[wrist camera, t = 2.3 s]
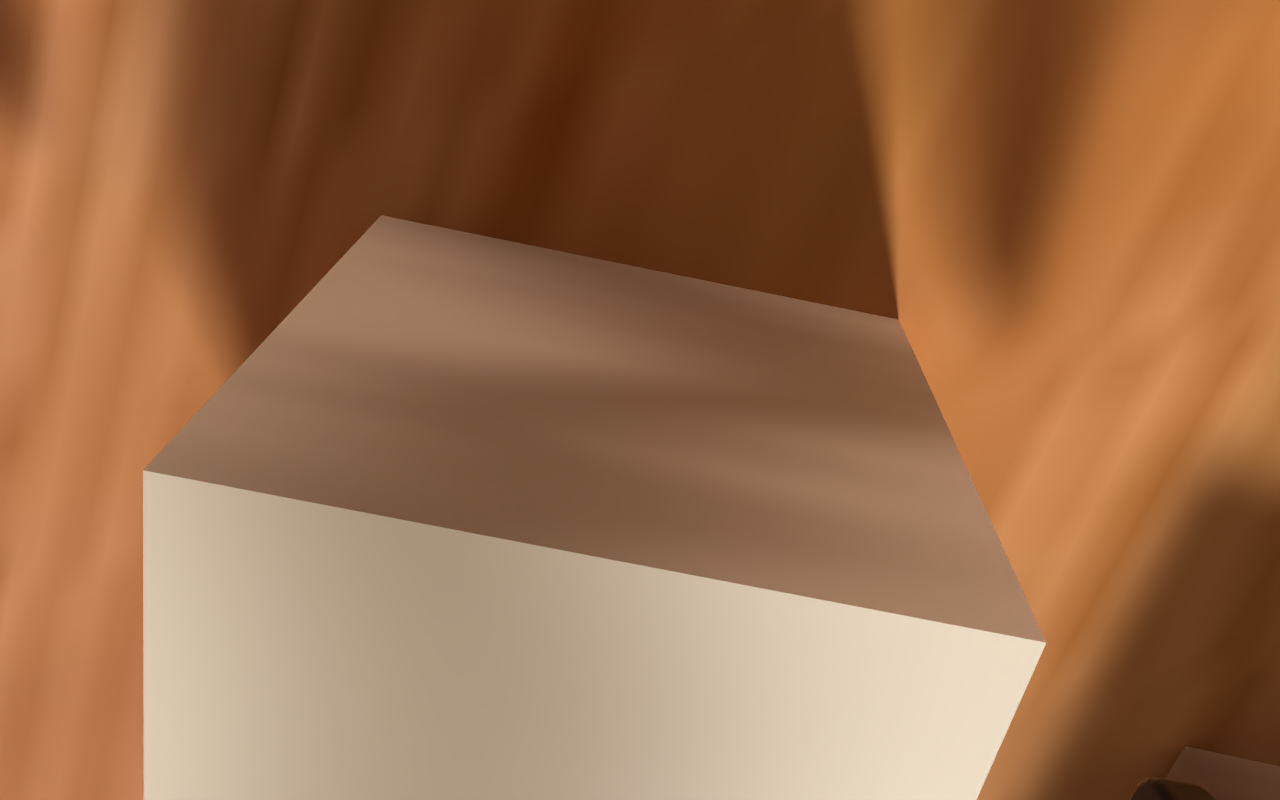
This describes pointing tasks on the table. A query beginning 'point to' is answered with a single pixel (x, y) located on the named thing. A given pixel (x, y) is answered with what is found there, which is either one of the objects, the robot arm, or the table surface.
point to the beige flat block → (1227, 775)
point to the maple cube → (571, 548)
